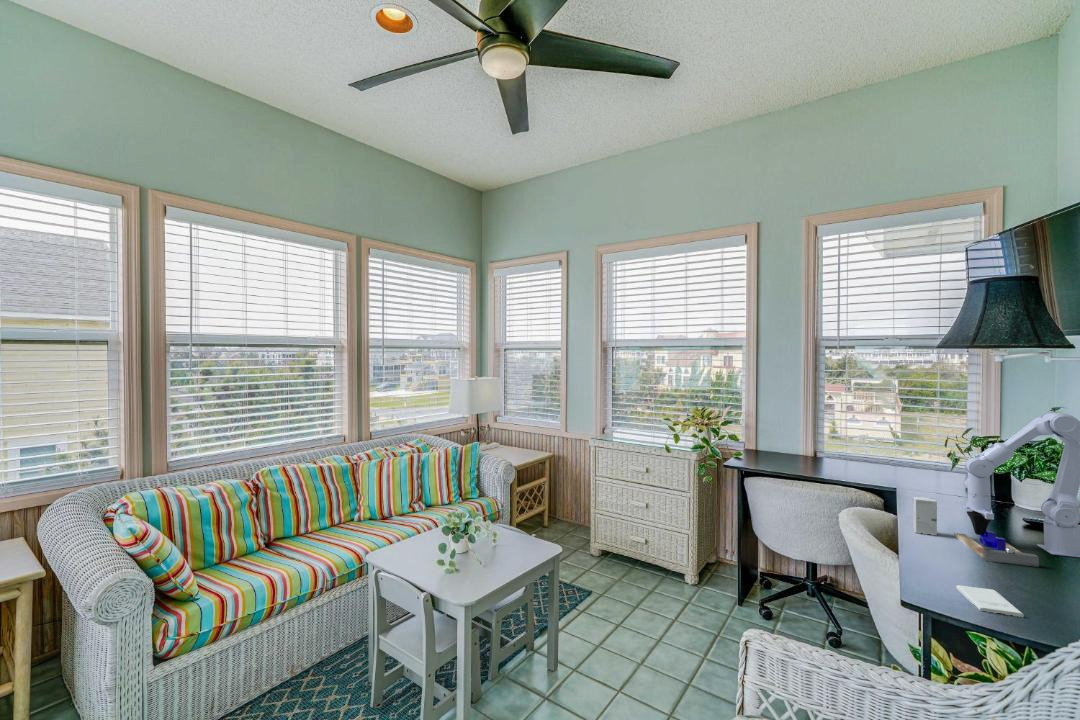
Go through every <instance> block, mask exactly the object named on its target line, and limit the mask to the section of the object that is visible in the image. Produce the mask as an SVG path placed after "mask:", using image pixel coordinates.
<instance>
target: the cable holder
mask: <svg viewBox="0 0 1080 720" xmlns="http://www.w3.org/2000/svg"><path fill="white" fill-rule="evenodd" d="M1006 541H1007V539H1005V538H1004V537H998V536H996V532H995V531H994V530H986V531H985V535H979V543H980V542H981V543H980V544H982V545H983V546H984V547H989V548H992V549H993V550H999V551H1006V550H1005V548H1006V543H1007V542H1006Z"/></svg>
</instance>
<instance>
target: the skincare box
mask: <svg viewBox="0 0 1080 720" xmlns="http://www.w3.org/2000/svg"><path fill="white" fill-rule="evenodd" d="M937 513H938V502H937V500H936V499H935V498H930V497H921V496H913V531H914V533H915V532H916V533H915V534H920V533H923V534H922V535H927V534H931V535H930V536H933V535H936V536H938V535H937V532H938V530H937V529H938V527H937V526H938V523H937V521H938V518H937V517H938V514H937Z"/></svg>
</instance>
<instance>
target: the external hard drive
mask: <svg viewBox="0 0 1080 720" xmlns="http://www.w3.org/2000/svg"><path fill="white" fill-rule="evenodd" d="M956 590H957V591H958V592H959V593H960V594H961V595H962V596H963V597H964V598H966V600H968V601H969V602H970V604H972V605H973V604H974V605H975V606H976V607H977V608H978V609H979V610H981V611H987V612H986V613H988V612H993V613H992V614H996V613H1001V614H1000V615H1004V614H1005V615H1006V616H1010V615H1013V616H1012V617H1017V616H1018V617H1019V618H1024V615H1025V614H1024V613H1023V612H1021V610H1019V609H1018V608H1017V607H1015V606H1014V605H1013V604H1012V603H1011V602H1009V601H1008V600H1007V599H1006V597H1003V596H1002V595H1001V594H1000V593H999V592H998V591H996V590H994V589H992V588H991V589H990V588H984V587H983V588H982V587H975V586H970V585H969V586H967V585H960V584H959V585H958V584H957V585H956ZM974 605H973V606H974ZM975 606H974V607H975ZM976 607H975V608H976ZM977 608H976V609H977ZM978 609H977V610H978ZM979 610H978V611H979ZM981 611H980V612H981ZM1005 615H1004V616H1005Z"/></svg>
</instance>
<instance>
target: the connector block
mask: <svg viewBox="0 0 1080 720" xmlns="http://www.w3.org/2000/svg"><path fill="white" fill-rule="evenodd" d="M1015 549H1016V548H1015ZM1015 549H1013V548H1008V547H1006V548H1005V550H1006V551H999V550H995V549H987V548H985V549H983V558H982V559H983V560H984V561H986V562H992V563H1001V564H1010V565H1017V566H1024V567H1025V566H1027V567H1035V568H1040V566H1039V565H1040V563H1039V562H1040V560H1039V559H1040V558H1039V556H1038V555H1036V554H1034V553H1025V552H1022V553H1018V552H1015Z"/></svg>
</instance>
